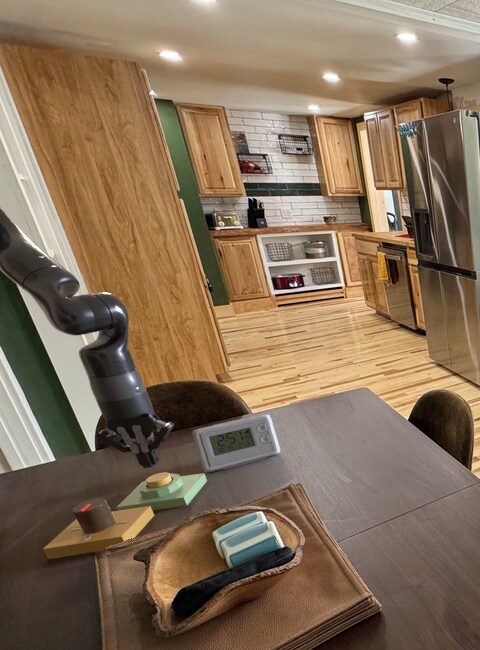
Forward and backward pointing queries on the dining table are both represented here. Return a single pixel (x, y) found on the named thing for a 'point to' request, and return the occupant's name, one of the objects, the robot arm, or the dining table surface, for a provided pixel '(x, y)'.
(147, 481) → the bell button
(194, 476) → the block
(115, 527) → the lock plate
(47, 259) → the robot arm
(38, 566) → the dining table surface
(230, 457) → the digital clock
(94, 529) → the lock turn
